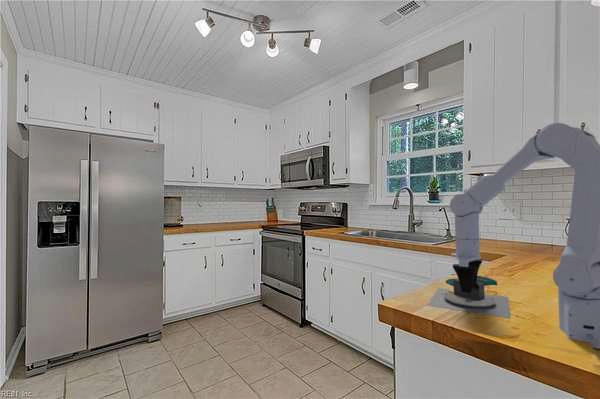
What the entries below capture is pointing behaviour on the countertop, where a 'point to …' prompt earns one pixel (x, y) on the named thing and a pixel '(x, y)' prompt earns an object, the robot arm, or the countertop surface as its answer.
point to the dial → (469, 296)
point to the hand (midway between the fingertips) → (468, 288)
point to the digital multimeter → (479, 279)
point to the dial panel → (497, 310)
